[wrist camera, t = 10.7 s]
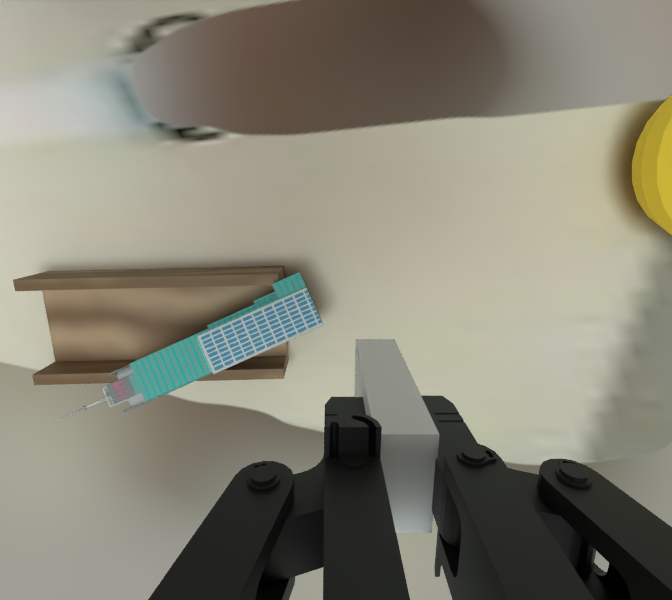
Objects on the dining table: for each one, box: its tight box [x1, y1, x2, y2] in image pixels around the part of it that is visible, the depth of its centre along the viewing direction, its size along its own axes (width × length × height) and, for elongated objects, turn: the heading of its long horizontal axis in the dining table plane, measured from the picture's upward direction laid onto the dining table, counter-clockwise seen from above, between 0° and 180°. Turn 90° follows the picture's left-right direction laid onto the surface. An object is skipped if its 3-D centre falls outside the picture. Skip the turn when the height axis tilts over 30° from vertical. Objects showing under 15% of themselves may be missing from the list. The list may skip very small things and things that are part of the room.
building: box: [55, 272, 323, 421], centre depth 45 cm, size 6×6×30 cm
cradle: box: [13, 266, 288, 385], centre depth 48 cm, size 12×28×6 cm, turn 91°
